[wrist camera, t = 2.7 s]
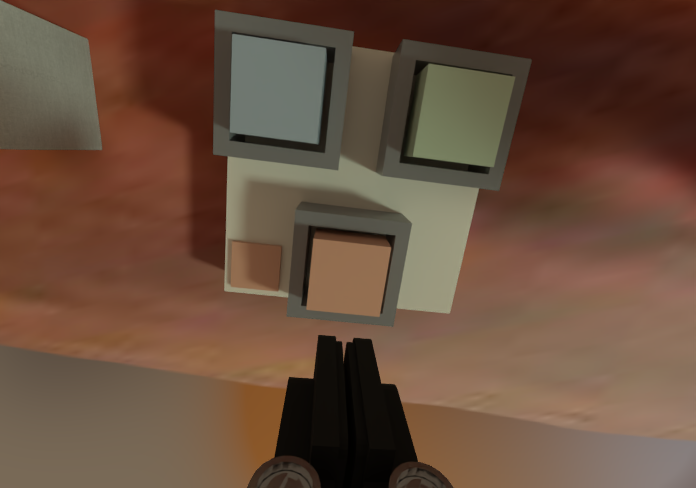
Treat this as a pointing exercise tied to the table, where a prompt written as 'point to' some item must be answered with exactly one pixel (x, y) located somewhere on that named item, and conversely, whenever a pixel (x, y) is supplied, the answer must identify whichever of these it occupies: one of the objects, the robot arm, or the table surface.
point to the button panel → (351, 173)
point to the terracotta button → (348, 272)
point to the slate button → (277, 89)
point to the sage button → (457, 115)
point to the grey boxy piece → (45, 86)
